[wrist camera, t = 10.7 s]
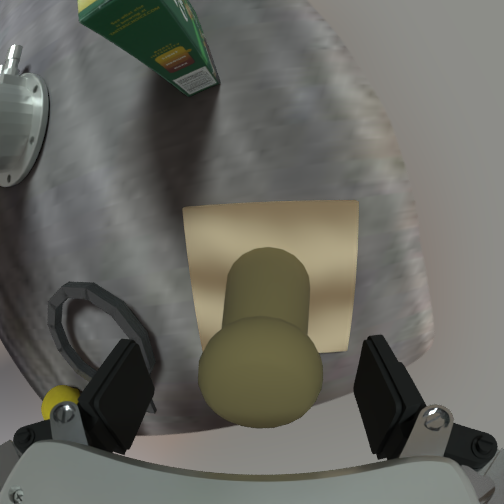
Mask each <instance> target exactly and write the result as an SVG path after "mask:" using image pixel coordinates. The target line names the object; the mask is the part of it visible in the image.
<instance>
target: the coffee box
mask: <svg viewBox="0 0 504 504" xmlns="http://www.w3.org/2000/svg"><path fill="white" fill-rule="evenodd" d="M77 2H78V16H79V22H80V23H81V24H83V25H84V26H86V27H88V28H89V29H91V30H93V31H95V32H96V33H98V34H99V35H101V36H103V37H104V38H106V39H108V40H109V41H111V42H112V43H114V44H115V45H117V46H118V47H120V48H121V49H123V50H124V51H126V52H128V53H129V54H130V55H132V56H134V57H135V58H137V59H138V60H139V61H141V62H142V63H144V64H145V65H146V66H148V67H149V68H151V69H152V70H153V71H155V72H156V73H157V74H159V75H160V76H161V77H163V78H164V79H165V80H167V81H168V82H169V83H171V84H172V85H173V86H175V87H176V88H177V89H179V91H181V92H182V93H184V94H186V95H187V96H188V97H190V96H192V95H194V94H196V93H198V92H201V91H203V90H205V89H207V88H210V87H212V86H215V85H217V84H220V79H219V76H218V73H217V70H216V67H215V64H214V61H213V58H212V55H211V52H210V49H209V46H208V44H207V41H206V38H205V36H204V33H203V31H202V28H201V25H200V23H199V20H198V18H197V15H196V12H195V10H194V9H193V7H192V6H191V4H190V2H189V1H188V0H77Z"/></svg>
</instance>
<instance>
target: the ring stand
mask: <svg viewBox="0 0 504 504" xmlns="http://www.w3.org/2000/svg"><path fill="white" fill-rule="evenodd" d="M68 298H75V299H87V300H88V301H90V302H91V303H93V304H94V305H96V306H97V307H99V308H100V309H102V310H103V311H105V312H106V313H108V314H109V315H111V316H112V317H113V318H114V320H115V321H116V322H117V324H118V325H119V326H120V327H121V329H122V330H123V331H124V332H125V334H126V335H127V336H128V337H129V339H130V340H134V341H135V342H136V343H137V344H139V346H140V349H141V352H142V355H143V358H144V361H145V364H146V367H147V369H148V372H149V375H150V374H151V372H152V369H153V367H154V364H155V362H156V361H155V357H154V354H153V351H152V347H151V344H150V340H149V337H148V333H147V331H146V330H145V328H144V327H143V326H142V325H141V323H140V322H139V321H138V320H137V318H136V317H135V316H134V314H133V313H132V312H131V311H130V309H129V308H128V307H127V305H126V304H125V303H124V301H122V300H121V299H119V298H117V297H116V296H114V295H112V294H111V293H109V292H108V291H106V290H105V289H103V288H102V287H100V286H98V285H97V284H95V283H94V282H93V283H90V282H68V283H66V284H65V285H63V286H62V287H61V288H60V289H59V290H58V291H57V292H56V293H55V294H54V295H53V297H52V298H51V299H50V300H49V301H48V327H49V329H50V332H51V334H52V337H53V339H54V342H55V344H56V347H57V349H58V351H59V352H60V353H61V355H62V356H63V357H64V358H65V360H66V361H67V362H68V363H69V365H70V366H71V367H72V368H73V369H74V371H75V372H76V373H77V374H79V375H80V376H81V377H83V378H84V379H86V380H87V381H89V382H90V381H91V379H92V378H93V376H94V375H95V374H96V372H97V371H96V370H94V369H93V368H91V367H90V366H89V365H87V364H86V363H84V361H83V360H82V359H81V358H80V357H79V355H78V354H77V353H76V352H75V350H74V349H73V348H72V347H71V345H70V344H69V342H68V339H67V337H66V334H65V331H64V329H63V326H62V323H61V318H62V305H63V303H64V302H65V301H66V300H67V299H68ZM146 412H149V413H154V414H155V412H156V408H155V405H154V403H153V401H152V400H151V402H150V404H149V406H148V409H147V411H146Z"/></svg>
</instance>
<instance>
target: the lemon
mask: <svg viewBox="0 0 504 504" xmlns="http://www.w3.org/2000/svg"><path fill="white" fill-rule="evenodd" d="M79 396H80V393H79V390H78V389H76V388H72V387H70V386H67V385H59V386H56V387H54V388H52V389H51V390H50V391H49V392H48V393H47V394H46V396H45V398H44V400H43V403H42V406H41V411H42V415H43V418H44V420H47V419H50V412H51V410H52V408H53V407H54V406H55V405H57V404H58V403H60V402H64V401H71V402H73V403H75V404H76V405H77V403H78V402H79V401H78V400H77V399H78V398H79Z"/></svg>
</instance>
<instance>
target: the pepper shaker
mask: <svg viewBox="0 0 504 504" xmlns="http://www.w3.org/2000/svg"><path fill="white" fill-rule="evenodd" d="M309 303H310V281H309V275H308V273H307V271H306V269H305V267H304V265H303V264H302V263H301V262H300V261H299V260H298V259H297V258H296V257H295V256H294V255H293V254H291V253H289V252H287V251H285V250H283V249H278V248H273V247H264V248H256V249H253V250H251V251H249V252H247V253H245V254H243V255H242V256H240V257H239V258H238V259H237V260H236V261H235V262H234V263H233V265H232V267H231V269H230V271H229V273H228V275H227V283H226V291H225V300H224V310H223V319H222V329H221V330H220V331H218V332H217V333H216V334H215V335H214V336H213V337H212V338H211V339H210V340H209V342H208V344H207V345H206V347H205V349H204V351H203V353H202V355H201V358H200V360H199V369H198V385H199V387H200V390H201V392H202V395H203V397H204V399H205V401H206V403H207V404H208V405H209V406H210V408H211V409H212V410H213V411H214V412H215V413H216V414H218V415H219V416H221V417H222V418H224V419H225V420H227V421H229V422H232V423H235V424H238V425H240V426H245V427H251V428H274V427H278V426H282V425H286V424H289V423H291V422H293V421H295V420H297V419H299V418H301V417H302V416H303V415H304V414H305V413H306V412H307V411H308V410H309V409H310V408H311V407H312V406H313V404H314V403H315V402H316V399H317V397H318V395H319V393H320V391H321V388H322V382H323V365H322V361H321V357H320V355H319V353H318V351H317V349H316V347H315V345H314V343H313V342H312V340H311V339H310V337H309V336H308V321H309Z"/></svg>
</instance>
